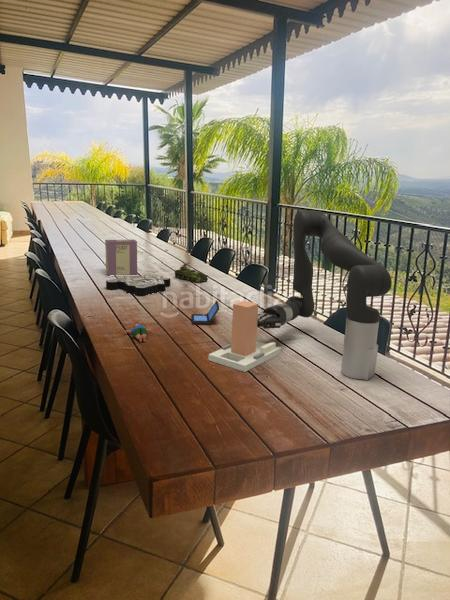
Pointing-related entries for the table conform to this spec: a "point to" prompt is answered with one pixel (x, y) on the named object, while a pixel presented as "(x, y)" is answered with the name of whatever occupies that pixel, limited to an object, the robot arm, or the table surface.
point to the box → (121, 257)
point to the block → (244, 328)
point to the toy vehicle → (190, 274)
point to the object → (205, 316)
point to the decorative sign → (139, 284)
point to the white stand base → (245, 362)
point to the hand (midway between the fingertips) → (250, 326)
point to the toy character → (139, 332)
